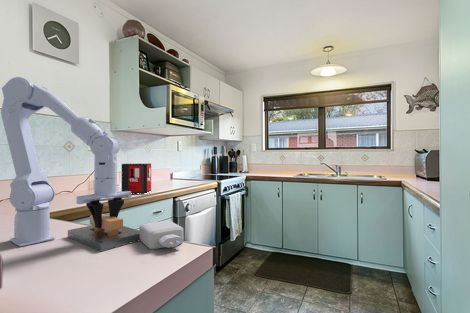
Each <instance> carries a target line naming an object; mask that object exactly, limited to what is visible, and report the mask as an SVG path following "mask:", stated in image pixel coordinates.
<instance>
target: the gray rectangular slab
mask: <svg viewBox="0 0 470 313" xmlns="http://www.w3.org/2000/svg"><path fill="white" fill-rule="evenodd" d="M67 238H69V239H70V240H71V239H72V240H74V241H76V242H79V243H81V244H83V245H86V246H87V245H88V247H90V248H92V249H94V250H97V251H99V252H104V250H105V251H108V250H111V249H110V248H112V249H114V248H113V247H116V248H118V247H117V246H119V247H121V246H120V245H123V244H126V245H128V244H127V243H130V242H133V243H135V242H134V241H137V242H139V241H138V240H140V239H139V229H135V228H131V227H127V226H124V225H123V228H121V229H119V234H117V235H113V236H108V230H106V229H104V230H100V231H94V226H93V225H87V226H82V227H81V226H80V227H77V228H76V227H75V228H72V229H67ZM140 241H141V240H140ZM130 244H131V243H130ZM123 246H124V245H123ZM107 249H108V250H107Z"/></svg>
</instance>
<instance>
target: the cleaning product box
mask: <svg viewBox="0 0 470 313" xmlns="http://www.w3.org/2000/svg"><path fill="white" fill-rule="evenodd" d="M123 191H131V193H147V192H149V191H151V192H152V163H121V192H123Z"/></svg>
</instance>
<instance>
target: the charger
mask: <svg viewBox="0 0 470 313" xmlns="http://www.w3.org/2000/svg"><path fill="white" fill-rule="evenodd" d="M138 230H139V239H140V241H141V242H142V243H143V244H144V245H145V246H146V247H147V248H148V249H149V250H158V249H162V248H169V249H170V248H174V247H178V246H179V245H181V244H183V242H184V239H185V238H184V237H185V236H184V235H185V232H184V231H185V230H184V227H182V226H181V225H179V224H177V223H175V222H173V221H171V220H160V221H154V222H148V223H143V224H141V225H139V229H138Z"/></svg>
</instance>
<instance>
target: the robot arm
mask: <svg viewBox="0 0 470 313" xmlns="http://www.w3.org/2000/svg"><path fill="white" fill-rule="evenodd" d="M1 90H2V94H3V99H2V105H1V110H0V115H1V120H2V123H3V127H4V131H5V135H6V139H7V144H8V147H9V152H10V155H11V159H12V164H13V167H14V168H13V169H14V172H15V177H14V178H13V180H12V181H11V183H10V186H9V187H10V195H9V202H10V204H11V205H12V207H13V208H15V209H14V210H15V211H16V213H15V215H14V217H13V218H14V221H13V222H14V225H13V226H14V232H13V233H14V235H13V236H14V237H10V238H9V241H10V242H12V243H13V244H15V245H16V246H18V247H24V246H29V245H34V244H39V243H43V242H47V241H53V240H55V239H56V237H55V236H54V235H51V234H50V229H51V228H50V221H51V220H50V218H51V216H50V213H51V212H50V207H51V202H52V201H53V200H54V198H55V196H56V191H55V188H54V186H52V184H51V183H50V180H49V178H48V176H46V175H45V174H44V173H43V172H42V169H41V166H40V162H39V157H38V154H37V150H36V145H35V142H34V137H33V133H32V130H31V126H30V120H29V119H30V117H31V116H32V115H34V114H36V113H38V112H39V111H40V110H42V109H44V108H48V109H49V110H50V111H52V112H53V113H54V114H56V115H57V116H59V117H60V118H61V119H62V120H64V121H65V122H66V123H68V125H70V129H71V133H72V134H73V135H75V136H76V137H77V138H78V139H80V140H81V141H82V142H84V143H85V144H86V145H87V146H88V147H89V148H90V151H91V153H93V155H94V170H93V173H94V182H93V183H94V184H93V185H94V187H93V188H94V192H93V193H92V194H85V195H77V196H76V204H77V205H84V204H86V205H85V206H86V207H87V209H88V211H89V212H90V214H91V215H92V217H93V219H94V223H95V227H96V228H101V226H102V214H103V208H104V203H102V202H106V201H107V205H108V211H109V214H108V215H109V216H113V217H117V218H119V213H120V211H121V209H122V207H123V205H124V203H125V200H124V199H131V198H132V194H131V191H123V192H122V191H117V190H118V189H117V188H118V186H117V184H118V183H117V182H118V167H117V166H118V162H117V154H118V153H119V150H120V144H119V142H118V140H117V139H116V138H115V137H113V136H108V135H109V132H108V131H107V130H103V129H101V128H100V127H99V126H98V125H97V124H96V121H95V119H93V118H88V117H84V116H83V117H81V116H79V114H77V113H76V112H75V111H74V110H73V109H72V108H70V107H69V106H68V105H67V104H66V103H65V102H64V101H63V100H62V99H61V98H59V97H58V96H57V94H55V93H53V92H52V91H50V90H49V89H48V88H47V87H44V86H42V85H39V84H36V83H34V82H32V81H31V80H30V81H29V80H28V79H26V78H24V77H20V76H16V77H12V78H10V79H9V80H8V81H7V82H6V83H5V84H4V85H3V86H2V87H1Z"/></svg>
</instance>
